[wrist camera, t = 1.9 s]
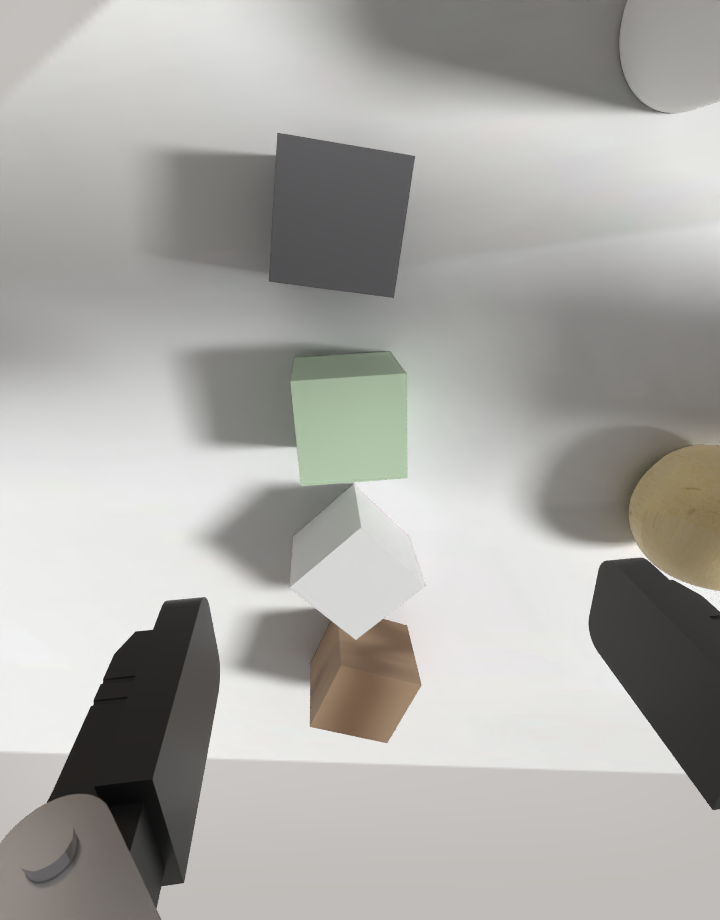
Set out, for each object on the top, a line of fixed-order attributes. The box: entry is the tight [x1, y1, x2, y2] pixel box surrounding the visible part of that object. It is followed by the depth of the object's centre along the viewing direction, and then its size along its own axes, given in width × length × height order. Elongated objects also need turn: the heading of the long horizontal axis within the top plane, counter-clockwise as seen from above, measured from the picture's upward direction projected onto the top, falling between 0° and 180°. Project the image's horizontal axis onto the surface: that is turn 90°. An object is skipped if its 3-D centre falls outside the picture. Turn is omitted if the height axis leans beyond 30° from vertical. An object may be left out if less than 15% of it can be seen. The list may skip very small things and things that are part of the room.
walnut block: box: [310, 619, 421, 743], centre depth 31 cm, size 5×5×5 cm
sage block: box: [290, 351, 407, 486], centre depth 25 cm, size 5×5×5 cm
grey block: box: [289, 484, 426, 640], centre depth 28 cm, size 5×5×5 cm
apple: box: [629, 445, 720, 591], centre depth 28 cm, size 8×8×8 cm
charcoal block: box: [269, 133, 415, 298], centre depth 21 cm, size 5×5×5 cm
